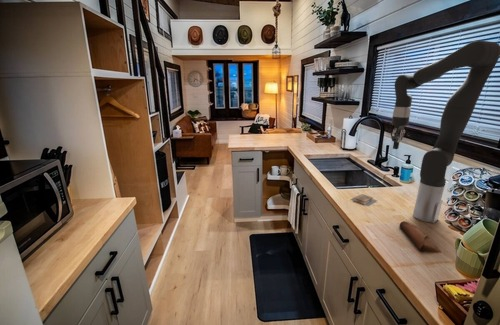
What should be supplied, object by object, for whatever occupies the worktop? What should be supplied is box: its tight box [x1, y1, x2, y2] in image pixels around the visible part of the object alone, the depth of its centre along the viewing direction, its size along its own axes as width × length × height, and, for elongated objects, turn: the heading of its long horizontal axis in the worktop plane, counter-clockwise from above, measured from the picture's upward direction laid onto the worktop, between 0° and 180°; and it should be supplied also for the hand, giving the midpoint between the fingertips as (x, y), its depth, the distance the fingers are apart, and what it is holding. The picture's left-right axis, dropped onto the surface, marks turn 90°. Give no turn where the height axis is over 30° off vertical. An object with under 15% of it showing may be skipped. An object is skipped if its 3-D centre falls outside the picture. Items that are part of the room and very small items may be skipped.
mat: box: [350, 194, 378, 207], centre depth 137 cm, size 10×10×1 cm
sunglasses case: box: [399, 220, 442, 254], centre depth 103 cm, size 18×7×7 cm, turn 174°
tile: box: [353, 193, 374, 206], centre depth 136 cm, size 6×2×8 cm
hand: (395, 148), depth 136 cm, fingers closed
